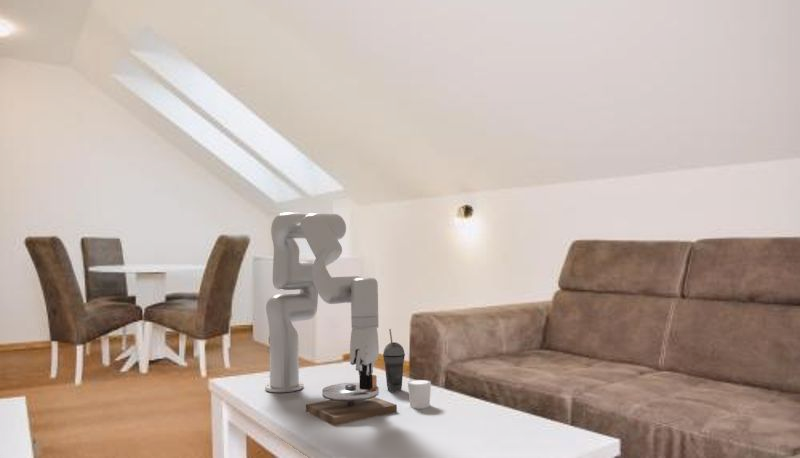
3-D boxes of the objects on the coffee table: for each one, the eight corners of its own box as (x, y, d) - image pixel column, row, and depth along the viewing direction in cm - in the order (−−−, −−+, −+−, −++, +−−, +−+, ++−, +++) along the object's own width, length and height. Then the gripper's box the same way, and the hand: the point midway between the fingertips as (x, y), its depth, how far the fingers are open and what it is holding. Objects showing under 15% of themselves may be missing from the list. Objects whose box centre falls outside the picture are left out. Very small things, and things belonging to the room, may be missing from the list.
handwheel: (313, 399, 159) (312, 379, 159) (335, 386, 174) (335, 368, 175) (367, 402, 154) (367, 382, 155) (386, 388, 170) (385, 370, 170)
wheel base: (305, 411, 165) (305, 394, 165) (364, 400, 177) (364, 384, 177) (334, 425, 151) (334, 407, 152) (396, 411, 163) (396, 395, 163)
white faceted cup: (434, 404, 171) (434, 380, 171) (426, 410, 165) (425, 385, 165) (413, 401, 174) (413, 378, 174) (404, 407, 168) (403, 383, 168)
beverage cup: (403, 393, 184) (402, 330, 185) (381, 392, 185) (380, 330, 186) (407, 388, 191) (406, 327, 192) (386, 387, 193) (385, 327, 193)
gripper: (363, 318, 169) (364, 382, 168) (340, 325, 155) (341, 394, 154) (387, 319, 166) (388, 383, 165) (366, 326, 152) (367, 396, 151)
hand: (366, 388), depth 159 cm, fingers closed
